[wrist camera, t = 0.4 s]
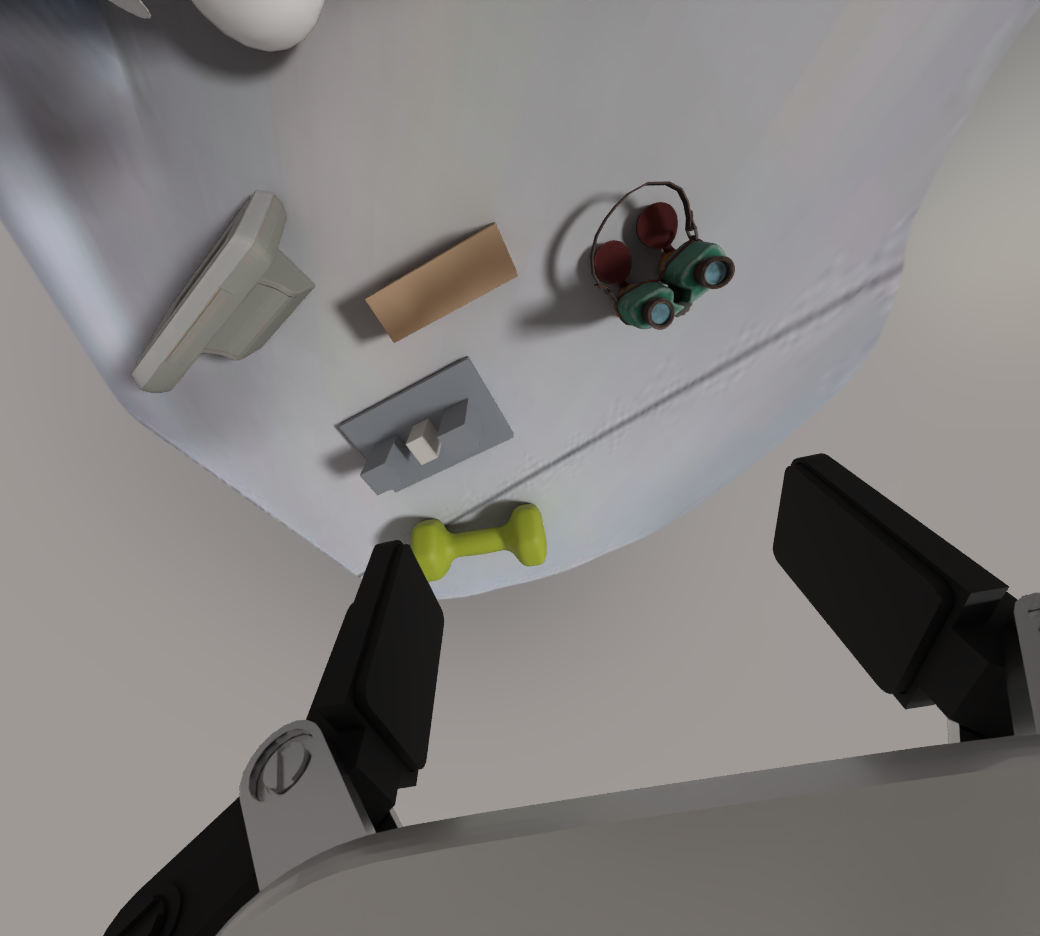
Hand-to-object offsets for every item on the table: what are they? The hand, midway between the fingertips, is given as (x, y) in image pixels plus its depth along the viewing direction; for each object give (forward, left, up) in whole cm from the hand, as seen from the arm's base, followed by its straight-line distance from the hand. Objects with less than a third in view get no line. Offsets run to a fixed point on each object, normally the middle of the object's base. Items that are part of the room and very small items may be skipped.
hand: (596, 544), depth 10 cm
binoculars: (+1, +10, -33) cm, 35 cm away
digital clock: (-13, -22, -33) cm, 42 cm away
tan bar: (-5, -6, -33) cm, 34 cm away
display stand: (+7, -16, -33) cm, 37 cm away
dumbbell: (+22, -18, -34) cm, 44 cm away
